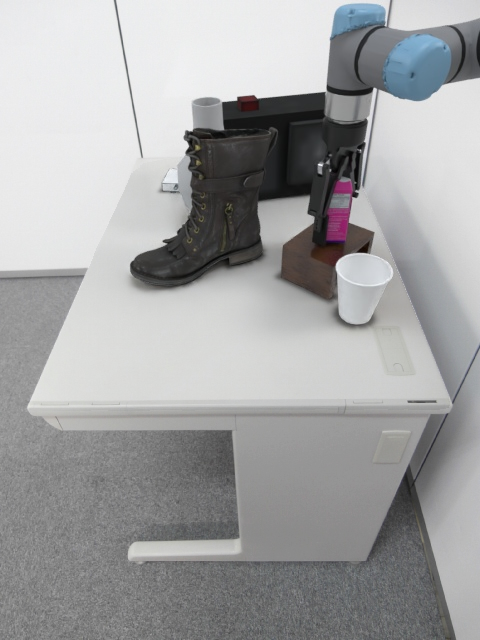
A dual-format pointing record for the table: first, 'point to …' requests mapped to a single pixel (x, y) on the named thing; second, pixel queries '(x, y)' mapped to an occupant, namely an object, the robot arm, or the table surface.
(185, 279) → the boot
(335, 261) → the brown wooden box
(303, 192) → the speaker
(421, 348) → the table surface
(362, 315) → the cup
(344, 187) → the supplement box
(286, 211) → the table surface
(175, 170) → the container
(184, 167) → the vase
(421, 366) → the table surface
